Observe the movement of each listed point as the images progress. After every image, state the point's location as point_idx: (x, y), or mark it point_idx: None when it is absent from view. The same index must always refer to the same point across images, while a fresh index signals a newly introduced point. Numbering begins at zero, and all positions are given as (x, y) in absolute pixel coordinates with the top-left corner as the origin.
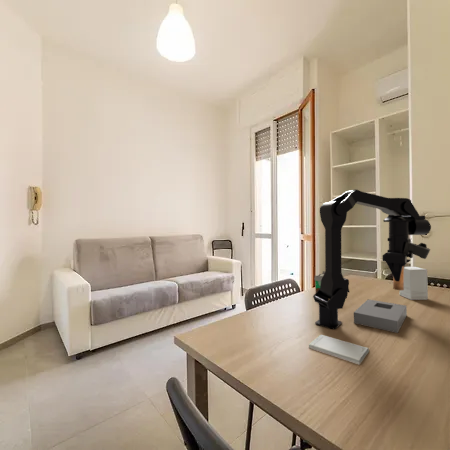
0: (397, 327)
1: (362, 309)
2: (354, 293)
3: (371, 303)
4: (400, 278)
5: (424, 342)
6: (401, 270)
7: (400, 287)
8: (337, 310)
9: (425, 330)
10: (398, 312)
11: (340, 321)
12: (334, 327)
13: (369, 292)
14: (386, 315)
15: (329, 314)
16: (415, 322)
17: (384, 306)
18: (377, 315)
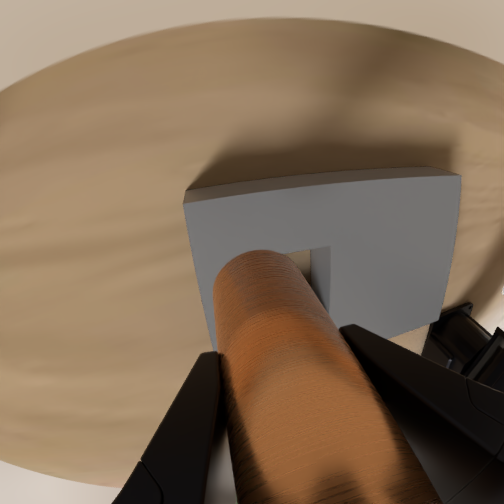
0: (443, 170)
1: (400, 320)
2: (72, 427)
3: None
4: (345, 341)
5: (445, 88)
6: (486, 397)
7: (304, 278)
8: (478, 337)
9: (345, 81)
10: (360, 198)
11: (435, 322)
12: (472, 305)
13: (13, 397)
14: (427, 226)
15: (489, 333)
16: (266, 129)
17: None
18: (440, 252)
